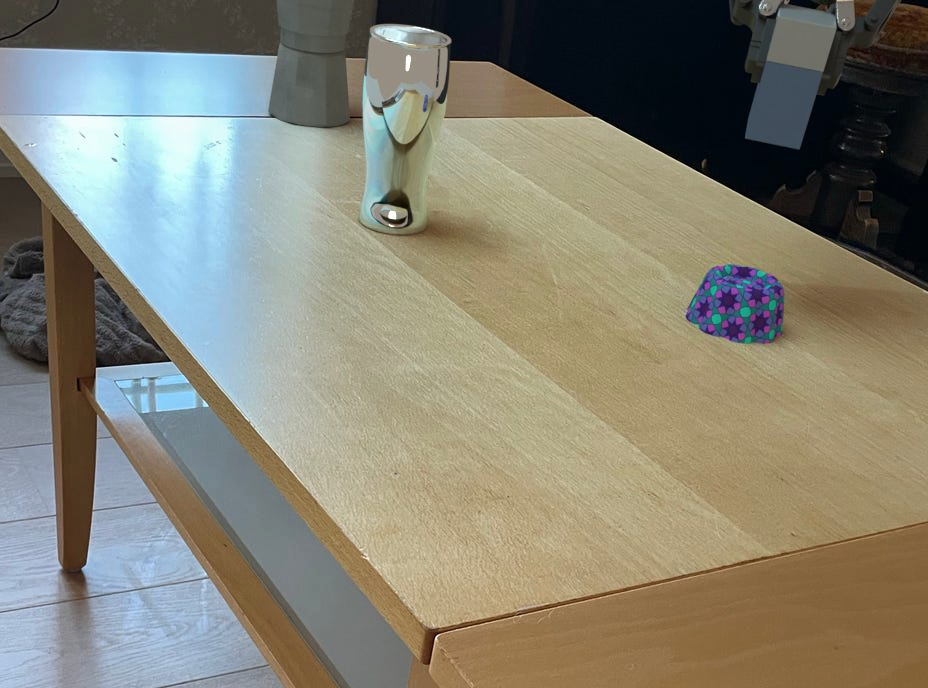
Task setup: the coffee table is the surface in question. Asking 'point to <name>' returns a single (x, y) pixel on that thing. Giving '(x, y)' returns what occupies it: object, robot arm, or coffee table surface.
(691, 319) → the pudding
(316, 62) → the coffeepot
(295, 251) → the coffee table surface
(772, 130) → the block
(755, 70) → the robot arm
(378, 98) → the beer glass
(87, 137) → the coffee table surface
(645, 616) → the coffee table surface
